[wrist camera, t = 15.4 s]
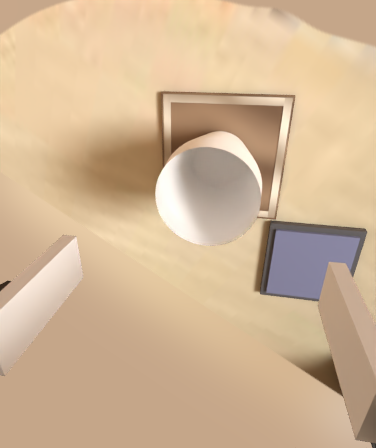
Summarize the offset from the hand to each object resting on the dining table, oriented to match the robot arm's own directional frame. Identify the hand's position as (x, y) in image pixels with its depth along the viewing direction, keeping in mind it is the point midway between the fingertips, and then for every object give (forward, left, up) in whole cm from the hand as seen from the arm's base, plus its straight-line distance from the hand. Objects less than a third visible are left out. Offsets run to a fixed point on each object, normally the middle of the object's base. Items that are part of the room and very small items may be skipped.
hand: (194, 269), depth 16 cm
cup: (0, +1, -22) cm, 22 cm away
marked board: (0, 0, -23) cm, 23 cm away
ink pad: (-13, -12, -23) cm, 29 cm away
